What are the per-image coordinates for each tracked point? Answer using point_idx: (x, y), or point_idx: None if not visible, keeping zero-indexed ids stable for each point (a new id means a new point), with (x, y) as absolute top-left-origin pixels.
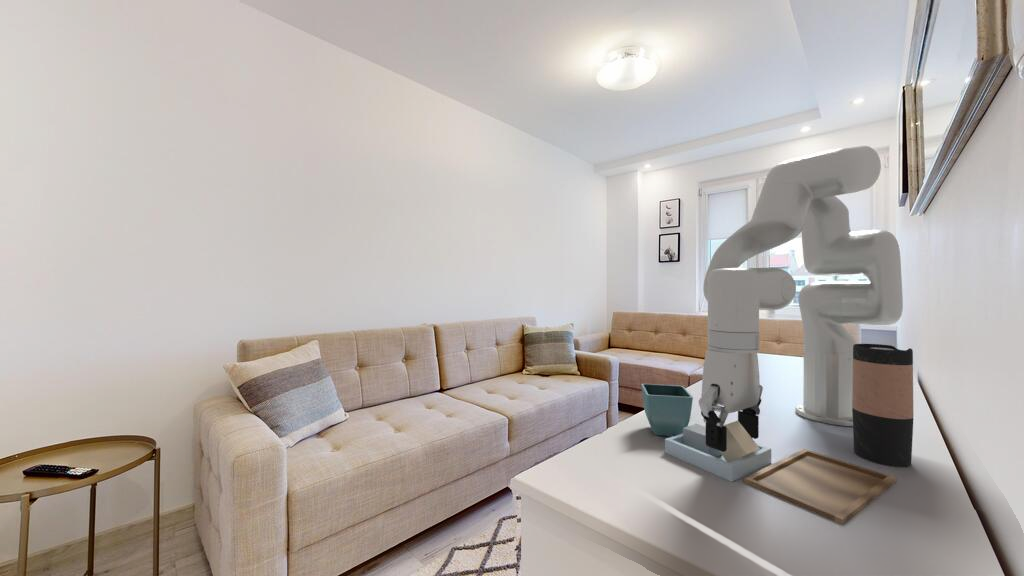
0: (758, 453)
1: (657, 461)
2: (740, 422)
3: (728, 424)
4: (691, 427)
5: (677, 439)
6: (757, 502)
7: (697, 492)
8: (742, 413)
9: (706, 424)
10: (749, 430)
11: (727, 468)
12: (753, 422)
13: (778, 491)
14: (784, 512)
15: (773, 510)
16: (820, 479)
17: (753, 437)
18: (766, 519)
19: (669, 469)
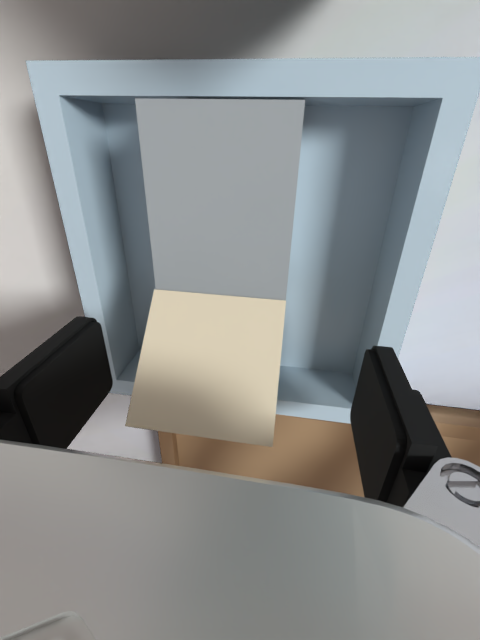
0: (282, 412)
1: (17, 103)
2: (378, 400)
3: (160, 430)
4: (198, 131)
5: (119, 96)
6: (119, 411)
7: (17, 316)
8: (391, 464)
9: (4, 379)
10: (361, 417)
11: None
12: (364, 477)
13: (164, 450)
14: (136, 448)
15: (122, 436)
16: (347, 482)
17: (351, 410)
18: (80, 435)
19: (23, 185)
